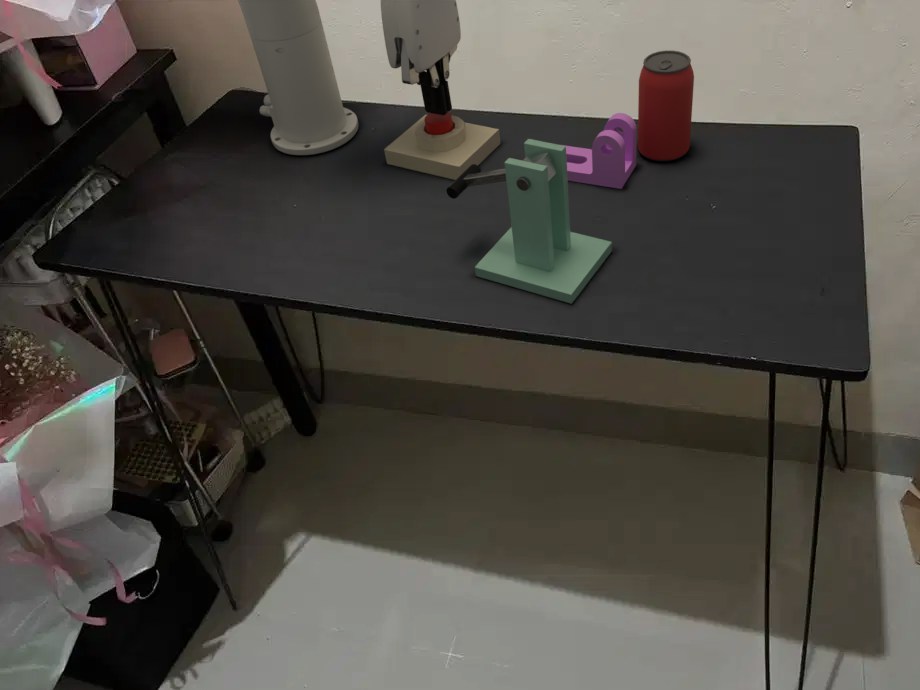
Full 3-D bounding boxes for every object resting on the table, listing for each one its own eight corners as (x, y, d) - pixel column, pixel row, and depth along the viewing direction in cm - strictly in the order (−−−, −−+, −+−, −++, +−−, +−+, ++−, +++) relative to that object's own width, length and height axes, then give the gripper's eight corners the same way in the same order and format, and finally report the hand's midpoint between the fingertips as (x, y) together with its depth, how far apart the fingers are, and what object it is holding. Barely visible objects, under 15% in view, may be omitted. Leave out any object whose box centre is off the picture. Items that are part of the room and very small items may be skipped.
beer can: (631, 160, 107) (632, 70, 98) (645, 134, 111) (647, 46, 103) (682, 166, 105) (688, 75, 96) (694, 140, 109) (701, 50, 100)
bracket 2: (636, 165, 106) (636, 115, 101) (621, 189, 103) (621, 137, 98) (541, 151, 111) (538, 102, 106) (524, 173, 107) (520, 123, 102)
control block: (387, 163, 113) (381, 137, 110) (428, 128, 118) (423, 102, 115) (461, 181, 108) (457, 153, 105) (500, 143, 113) (497, 116, 110)
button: (421, 133, 110) (418, 121, 109) (436, 120, 112) (434, 108, 111) (443, 138, 109) (441, 126, 107) (458, 125, 111) (456, 113, 109)
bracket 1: (475, 276, 93) (458, 167, 84) (519, 227, 99) (508, 120, 89) (571, 304, 88) (565, 192, 79) (612, 251, 94) (611, 140, 84)
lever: (451, 203, 91) (442, 184, 90) (475, 179, 94) (466, 160, 93) (540, 191, 83) (531, 170, 82) (563, 166, 86) (554, 145, 85)
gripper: (422, -63, 101) (446, 81, 114) (347, -16, 93) (382, 134, 106) (474, -59, 98) (492, 89, 111) (401, -10, 90) (430, 144, 102)
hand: (438, 110), depth 108 cm, fingers closed
